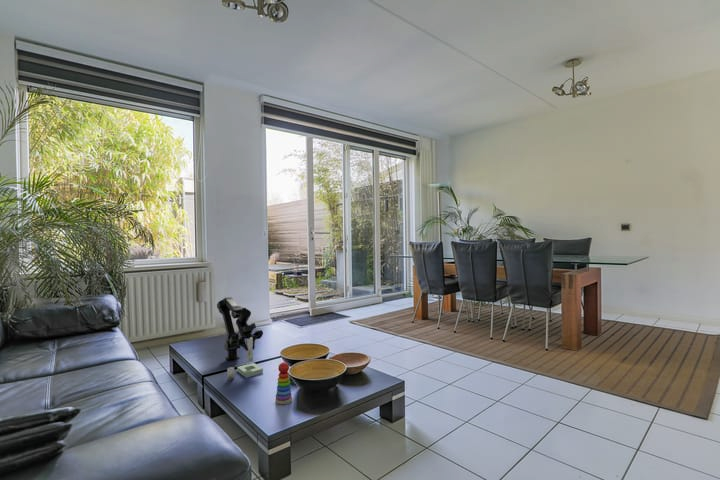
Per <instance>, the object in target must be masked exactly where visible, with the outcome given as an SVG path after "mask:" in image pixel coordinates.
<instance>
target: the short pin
mask: <svg viewBox="0 0 720 480" xmlns="http://www.w3.org/2000/svg"><path fill="white" fill-rule="evenodd" d="M226 369H227V373H226V376H227V381H234V380H235V367H234V366H230V367H227V368H226Z"/></svg>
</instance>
